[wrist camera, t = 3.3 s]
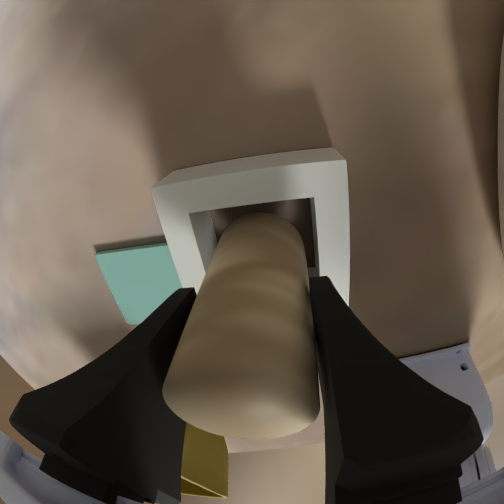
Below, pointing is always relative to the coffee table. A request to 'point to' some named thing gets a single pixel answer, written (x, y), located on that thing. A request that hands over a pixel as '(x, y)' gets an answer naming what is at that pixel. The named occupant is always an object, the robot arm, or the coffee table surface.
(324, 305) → the robot arm
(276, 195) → the socket block
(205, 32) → the coffee table surface
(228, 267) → the dowel
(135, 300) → the pad
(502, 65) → the bowl
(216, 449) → the flower pot
